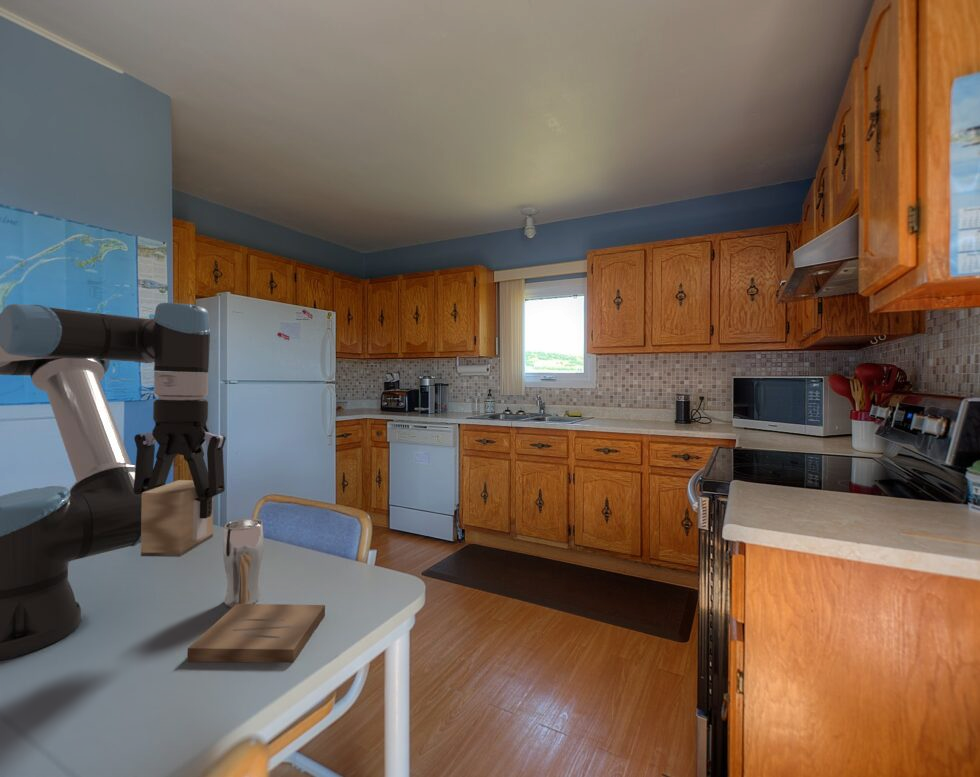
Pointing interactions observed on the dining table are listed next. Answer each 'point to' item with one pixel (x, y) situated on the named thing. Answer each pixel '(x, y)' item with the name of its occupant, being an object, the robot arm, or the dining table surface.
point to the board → (258, 634)
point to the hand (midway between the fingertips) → (178, 536)
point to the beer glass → (242, 560)
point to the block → (170, 520)
